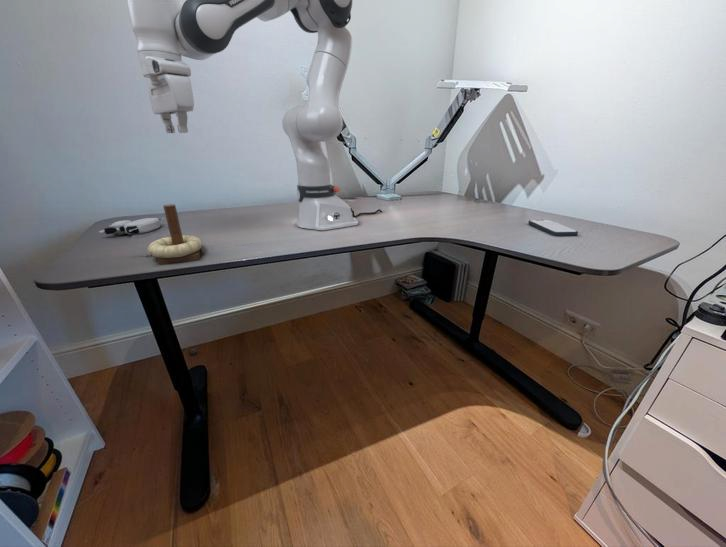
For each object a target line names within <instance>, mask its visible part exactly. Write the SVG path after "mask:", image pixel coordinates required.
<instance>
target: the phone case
mask: <svg viewBox="0 0 726 547" xmlns="http://www.w3.org/2000/svg"><path fill="white" fill-rule="evenodd" d="M527 224H528V225H529V226H532V227H534V228H536V229H538V230H541V231H542V232H545V233H547V234H549V235H551V236H554V237H573V236H575V237H576V236H578V234H579V231H578V230H576V229H573V228H571V227H568V226H566V225H563V224H561V223H558V222H556V221H553V220H551V219H529V220H528V223H527Z"/></svg>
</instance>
